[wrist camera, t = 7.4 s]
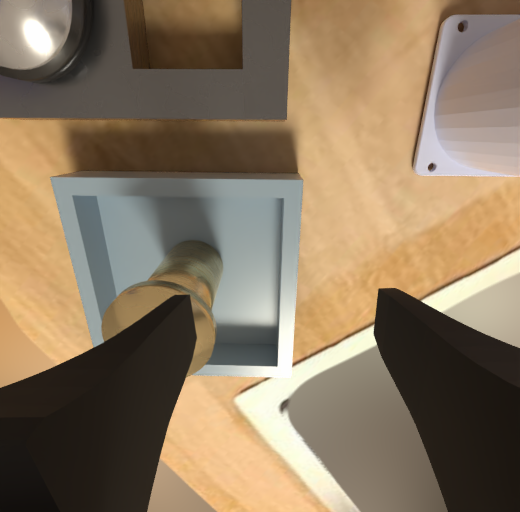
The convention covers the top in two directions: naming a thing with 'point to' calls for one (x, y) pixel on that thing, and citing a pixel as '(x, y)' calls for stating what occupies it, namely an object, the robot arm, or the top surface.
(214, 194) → the tray
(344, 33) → the top surface
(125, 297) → the lock pin
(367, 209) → the top surface
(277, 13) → the block
